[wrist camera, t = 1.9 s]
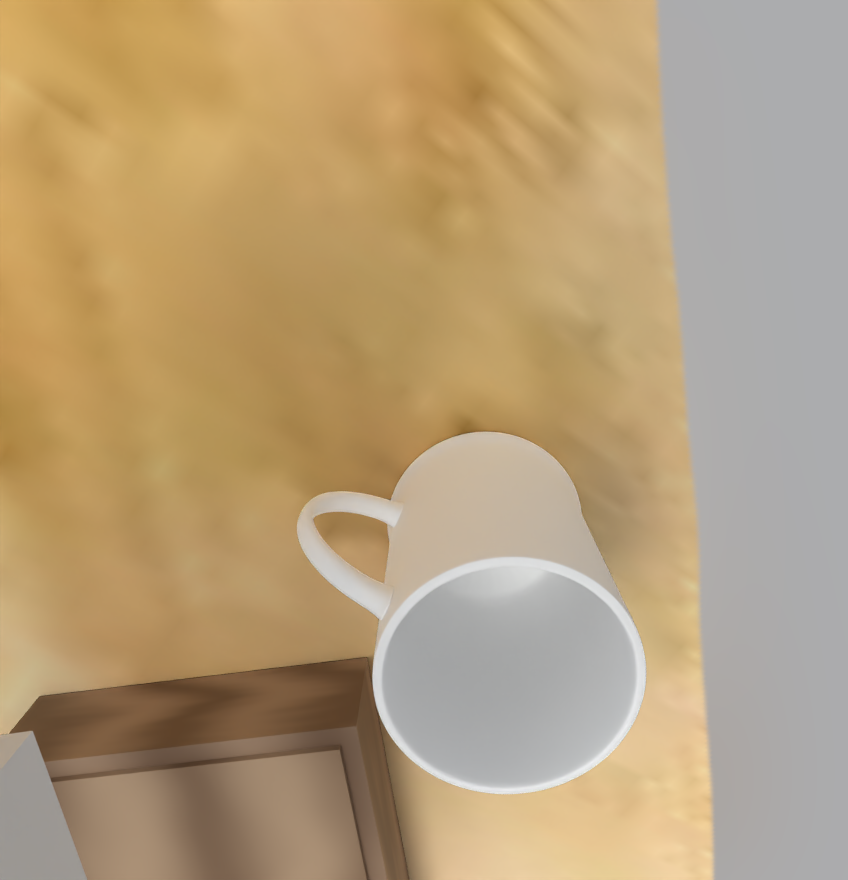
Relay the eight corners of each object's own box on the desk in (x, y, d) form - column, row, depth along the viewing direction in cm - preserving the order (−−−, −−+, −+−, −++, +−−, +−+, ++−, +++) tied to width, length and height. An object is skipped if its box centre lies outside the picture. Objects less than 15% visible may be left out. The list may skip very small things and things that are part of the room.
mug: (289, 519, 34) (214, 677, 22) (383, 355, 32) (354, 436, 20) (514, 639, 35) (551, 844, 24) (618, 491, 33) (715, 638, 22)
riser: (124, 949, 41) (80, 1053, 36) (39, 696, 37) (-25, 774, 32) (416, 920, 40) (414, 1022, 35) (366, 657, 36) (355, 730, 31)
